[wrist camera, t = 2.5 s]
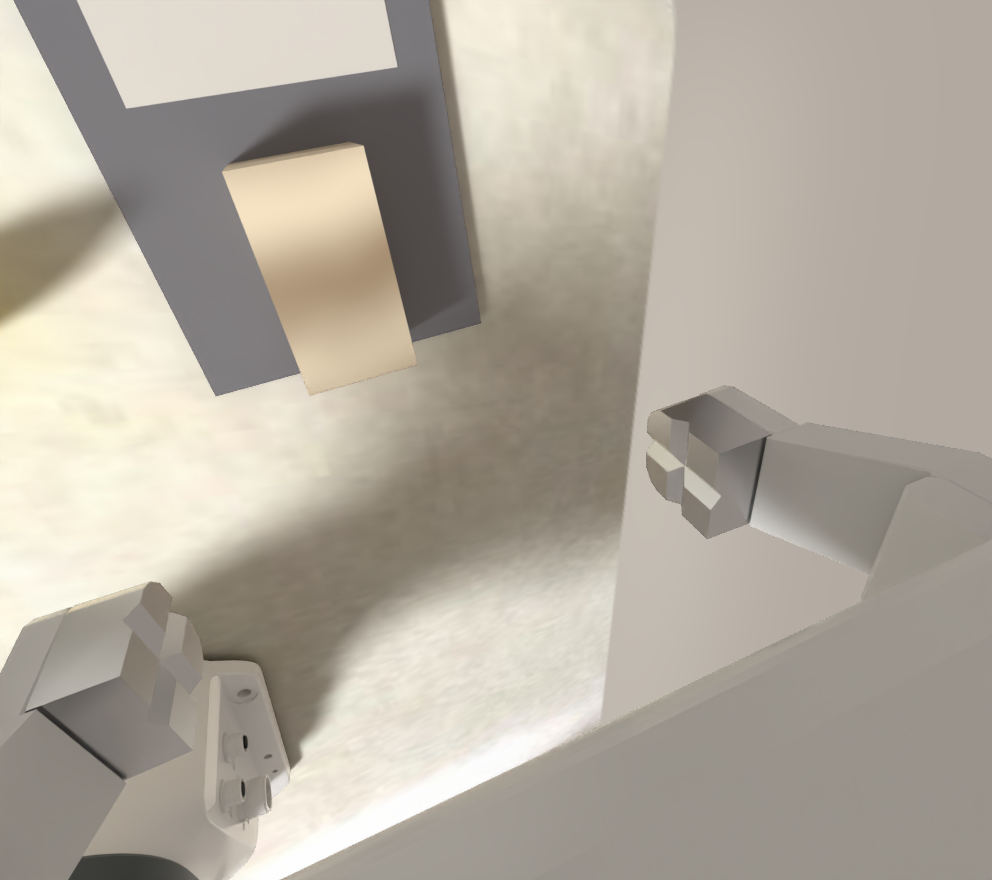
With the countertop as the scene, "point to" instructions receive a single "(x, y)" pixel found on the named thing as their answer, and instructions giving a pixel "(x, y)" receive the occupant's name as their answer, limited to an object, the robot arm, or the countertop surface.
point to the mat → (260, 147)
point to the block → (325, 262)
